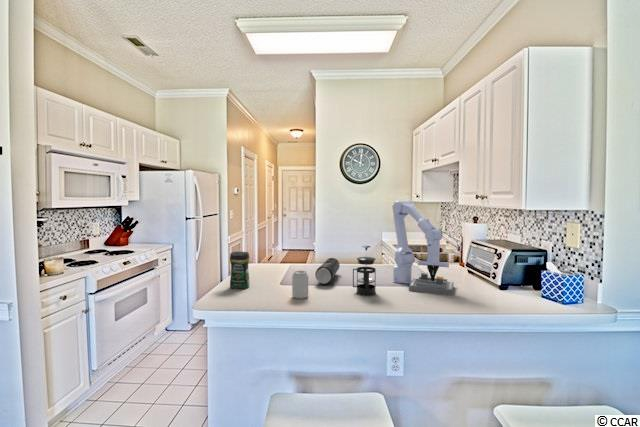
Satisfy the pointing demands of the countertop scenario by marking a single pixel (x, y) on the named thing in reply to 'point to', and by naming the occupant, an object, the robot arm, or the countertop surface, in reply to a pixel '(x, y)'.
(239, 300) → the countertop surface
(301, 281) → the can
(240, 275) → the coffee jar
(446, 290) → the block
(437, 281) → the breaker toggle
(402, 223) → the robot arm
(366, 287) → the french press
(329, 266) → the dark thermos flask
